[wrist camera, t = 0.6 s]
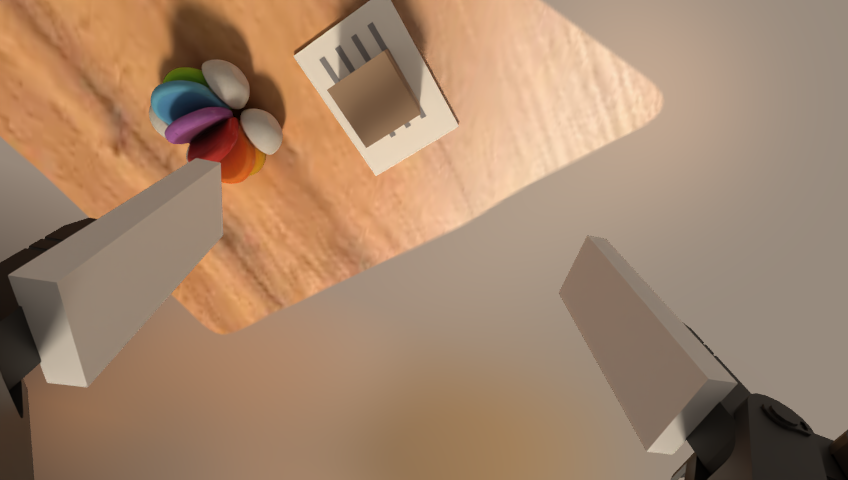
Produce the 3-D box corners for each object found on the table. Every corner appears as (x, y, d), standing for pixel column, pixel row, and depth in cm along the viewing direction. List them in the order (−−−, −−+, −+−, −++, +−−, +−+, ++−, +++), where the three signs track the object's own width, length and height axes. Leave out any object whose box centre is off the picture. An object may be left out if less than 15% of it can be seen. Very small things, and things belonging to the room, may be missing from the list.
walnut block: (338, 82, 32) (326, 89, 28) (388, 48, 31) (384, 50, 27) (372, 133, 34) (366, 148, 30) (419, 103, 33) (420, 114, 29)
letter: (294, 55, 31) (293, 56, 31) (385, -11, 29) (384, -11, 29) (376, 175, 36) (376, 176, 36) (458, 125, 34) (459, 126, 34)
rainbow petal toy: (229, 186, 37) (190, 218, 30) (151, 93, 33) (87, 107, 26) (300, 145, 35) (275, 170, 29) (227, 40, 31) (179, 42, 25)
